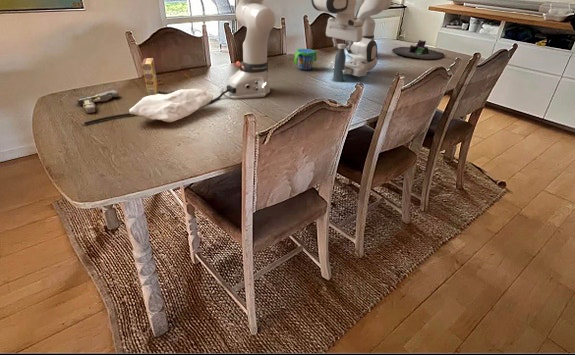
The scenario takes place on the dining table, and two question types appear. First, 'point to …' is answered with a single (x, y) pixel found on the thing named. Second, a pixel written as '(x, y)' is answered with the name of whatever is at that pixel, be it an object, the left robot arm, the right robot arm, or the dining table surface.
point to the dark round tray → (418, 51)
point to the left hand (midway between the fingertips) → (341, 48)
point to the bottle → (339, 65)
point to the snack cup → (305, 58)
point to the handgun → (95, 100)
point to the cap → (341, 46)
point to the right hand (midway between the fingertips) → (338, 70)
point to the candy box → (150, 76)
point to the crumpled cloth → (171, 104)
